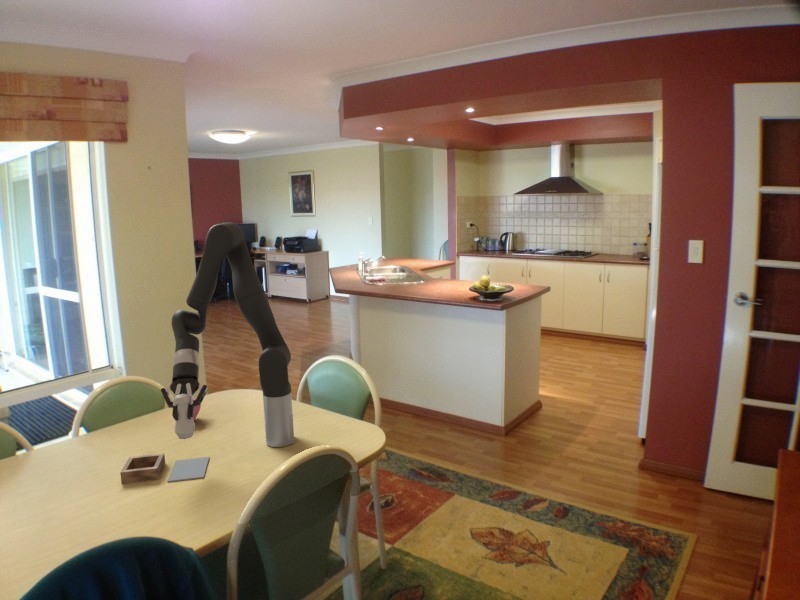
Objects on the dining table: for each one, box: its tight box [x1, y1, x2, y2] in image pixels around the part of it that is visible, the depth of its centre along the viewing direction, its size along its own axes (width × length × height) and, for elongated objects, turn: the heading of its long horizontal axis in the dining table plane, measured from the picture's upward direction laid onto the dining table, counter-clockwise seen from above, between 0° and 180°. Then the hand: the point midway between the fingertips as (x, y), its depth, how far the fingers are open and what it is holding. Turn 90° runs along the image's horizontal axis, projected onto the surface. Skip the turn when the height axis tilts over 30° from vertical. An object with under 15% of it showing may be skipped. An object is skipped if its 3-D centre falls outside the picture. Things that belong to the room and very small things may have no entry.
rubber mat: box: [167, 456, 210, 483], centre depth 165 cm, size 10×13×1 cm
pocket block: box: [119, 452, 166, 484], centre depth 163 cm, size 10×10×4 cm
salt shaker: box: [174, 394, 196, 440], centre depth 162 cm, size 6×6×13 cm
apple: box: [193, 396, 202, 421], centre depth 202 cm, size 10×9×10 cm
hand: (182, 418), depth 160 cm, fingers closed on salt shaker, 3 cm apart
